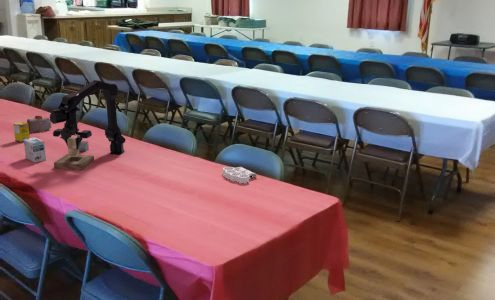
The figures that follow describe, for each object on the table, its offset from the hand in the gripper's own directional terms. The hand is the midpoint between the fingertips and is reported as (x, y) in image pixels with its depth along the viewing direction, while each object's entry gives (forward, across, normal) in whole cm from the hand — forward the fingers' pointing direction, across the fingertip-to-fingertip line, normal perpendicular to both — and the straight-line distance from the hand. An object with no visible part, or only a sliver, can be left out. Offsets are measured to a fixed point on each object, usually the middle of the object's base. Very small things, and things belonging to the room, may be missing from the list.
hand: (73, 149), depth 275 cm
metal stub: (+8, -6, +24) cm, 26 cm away
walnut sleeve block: (+8, 0, 0) cm, 8 cm away
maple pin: (+3, 0, 0) cm, 3 cm away
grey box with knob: (+9, -51, +58) cm, 78 cm away
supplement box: (+8, -49, +34) cm, 60 cm away
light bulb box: (+8, -24, +4) cm, 26 cm away
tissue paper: (+9, +87, -2) cm, 87 cm away
